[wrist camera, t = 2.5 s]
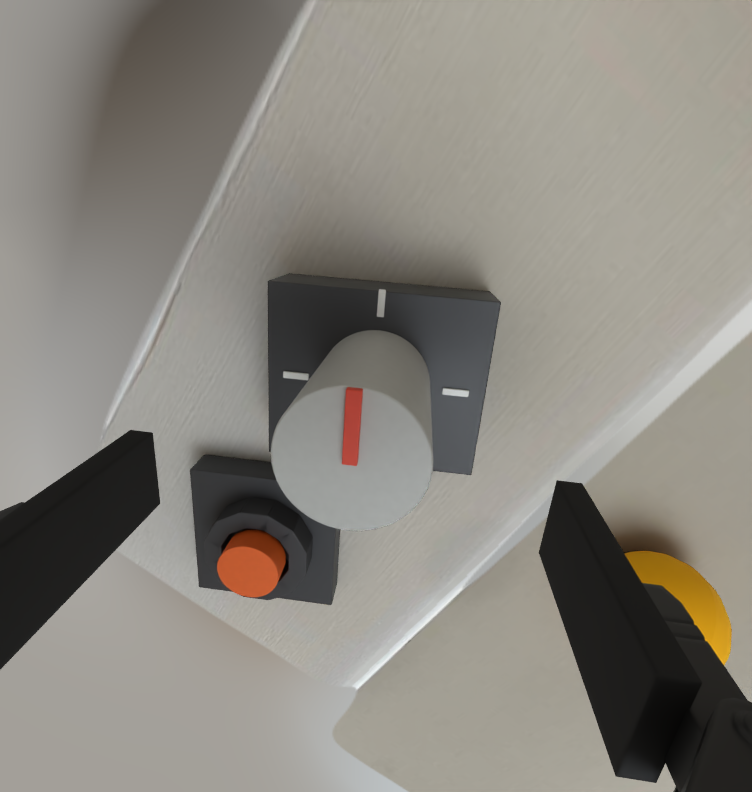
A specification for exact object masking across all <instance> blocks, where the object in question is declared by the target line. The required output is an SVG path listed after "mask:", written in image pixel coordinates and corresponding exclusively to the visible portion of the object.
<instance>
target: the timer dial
mask: <svg viewBox="0 0 752 792" xmlns="http://www.w3.org/2000/svg"><path fill="white" fill-rule="evenodd" d="M271 462H272V467H273V471H274V474H275V477H276V480H277V482H278V484H279V486H280V488H281V490H282V491H283V493H284V494H285V495H286V497H287V498H288V499H289V500H290V502H291V503H292V504H293V505H294V506H295V507H296V508H298V509H299V510H300V511H301V512H302V513H304V514H305V515H307V516H308V517H310V518H312V519H313V520H315V521H317V522H319V523H322V524H324V525H326V526H330V527H333V528H336V529H342V530H349V531H367V530H373V529H378V528H382V527H385V526H388V525H390V524H392V523H395V522H396V521H398V520H400V519H402V518H403V517H404V516H406V515H407V514H408V513H410V512H411V511H412V510H413V509H414V508H415V507H416V506H417V505H418V503H419V502H420V501H421V500H422V498H423V497H424V495H425V493H426V491H427V489H428V487H429V484H430V481H431V477H432V472H433V442H432V418H431V393H430V376H429V372H428V368H427V366H426V363H425V361H424V359H423V357H422V356H421V354H420V353H419V352H418V350H417V349H416V348H415V347H414V346H413V345H412V344H410V343H409V342H408V341H407V340H405V339H403V338H402V337H400V336H398V335H396V334H393V333H390V332H386V331H380V330H367V331H361V332H357V333H354V334H352V335H349V336H348V337H346V338H344V339H343V340H341V341H340V342H339V343H337V344H336V345H335V346H334V347H333V349H332V350H331V351H330V352H329V354H328V355H327V356H326V358H325V359H324V360H323V362H322V363H321V364H320V366H319V367H318V368H317V370H316V371H315V372H314V374H313V375H312V376H311V378H310V379H309V381H308V382H307V383H306V385H305V386H304V387H303V389H302V390H301V391H300V393H299V394H298V395H297V397H296V398H295V399H294V401H293V402H292V403H291V405H290V406H289V407H288V409H287V410H286V411H285V413H284V414H283V415H282V417H281V418H280V420H279V422H278V424H277V426H276V428H275V431H274V434H273V438H272V443H271Z"/></svg>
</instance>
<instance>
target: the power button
mask: <svg viewBox="0 0 752 792" xmlns="http://www.w3.org/2000/svg"><path fill="white" fill-rule="evenodd" d="M285 563H286V554H285V550H284V548H283V546H282V545H281V543H280V542H279V541H278V540H277V539H276V538H275V537H273V536H271V535H270V534H268V533H266V532H264V531H260V530H253V529H251V530H244V531H241V532H239V533H237V534H235V535H234V536H233V537H232V538H231V540H230V541H229V543H228V545H227V546H226V548H225V549H224V551H223V553H222V554H221V556H220V558H219V560H218V563H217V571H218V575H219V577H220V579H221V581H222V582H223V583H224V585H225V586H226V587H227V588H229V589H230V590H231V591H233V592H235V593H237V594H239V595H242V596H246V597H261V596H264V595H266V594H268V593H270V592H271V591H272V590H273V589H274V588H275V587H276V585H277V583H278V581H279V578H280V576H281V573H282V571H283V568H284V566H285Z"/></svg>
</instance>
